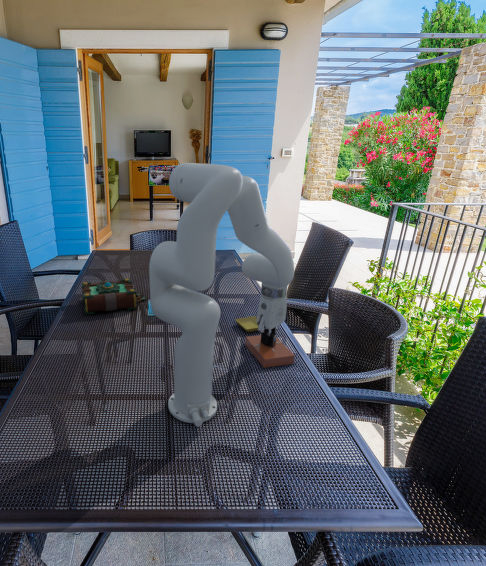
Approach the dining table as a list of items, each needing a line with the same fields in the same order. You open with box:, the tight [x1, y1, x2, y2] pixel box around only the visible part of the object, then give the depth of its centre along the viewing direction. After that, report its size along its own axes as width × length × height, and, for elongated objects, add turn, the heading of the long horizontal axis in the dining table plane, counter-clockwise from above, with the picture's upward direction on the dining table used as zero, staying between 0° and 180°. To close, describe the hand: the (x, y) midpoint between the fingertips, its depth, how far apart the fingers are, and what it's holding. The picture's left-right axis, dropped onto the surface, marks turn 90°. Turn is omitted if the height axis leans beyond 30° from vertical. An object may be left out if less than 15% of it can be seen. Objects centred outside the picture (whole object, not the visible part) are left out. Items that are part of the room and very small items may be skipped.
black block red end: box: [260, 332, 278, 347], centre depth 120 cm, size 5×2×4 cm, turn 44°
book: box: [81, 277, 147, 315], centre depth 156 cm, size 27×21×10 cm
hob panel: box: [244, 334, 296, 369], centre depth 121 cm, size 14×10×3 cm
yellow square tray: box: [235, 315, 259, 333], centre depth 137 cm, size 9×9×2 cm
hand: (267, 342), depth 121 cm, fingers closed on black block red end
